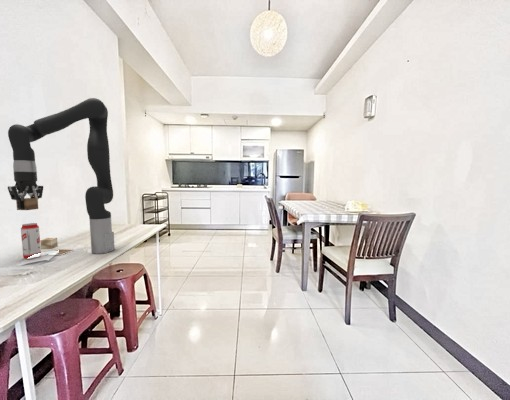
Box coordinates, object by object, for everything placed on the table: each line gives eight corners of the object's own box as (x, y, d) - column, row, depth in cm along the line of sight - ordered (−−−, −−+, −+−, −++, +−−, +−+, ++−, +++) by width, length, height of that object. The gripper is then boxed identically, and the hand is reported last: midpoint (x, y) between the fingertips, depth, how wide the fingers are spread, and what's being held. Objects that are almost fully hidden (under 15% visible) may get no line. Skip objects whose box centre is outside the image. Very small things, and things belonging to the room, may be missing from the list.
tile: (74, 250, 123) (74, 249, 123) (59, 255, 115) (59, 254, 115) (59, 250, 124) (59, 249, 124) (43, 255, 116) (43, 253, 115)
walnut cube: (38, 208, 110) (37, 198, 110) (27, 210, 106) (26, 199, 105) (28, 208, 111) (27, 198, 110) (17, 210, 106) (16, 198, 106)
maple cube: (57, 246, 131) (57, 237, 131) (51, 248, 127) (50, 239, 126) (47, 246, 131) (46, 237, 130) (41, 249, 126) (40, 240, 125)
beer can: (40, 254, 116) (37, 222, 115) (42, 257, 112) (39, 223, 111) (22, 257, 111) (19, 224, 110) (24, 260, 108) (21, 225, 106)
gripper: (15, 170, 99) (18, 210, 101) (48, 171, 114) (50, 206, 115) (-1, 170, 100) (2, 210, 101) (33, 171, 114) (36, 206, 116)
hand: (28, 208), depth 108 cm, fingers closed on walnut cube, 5 cm apart
